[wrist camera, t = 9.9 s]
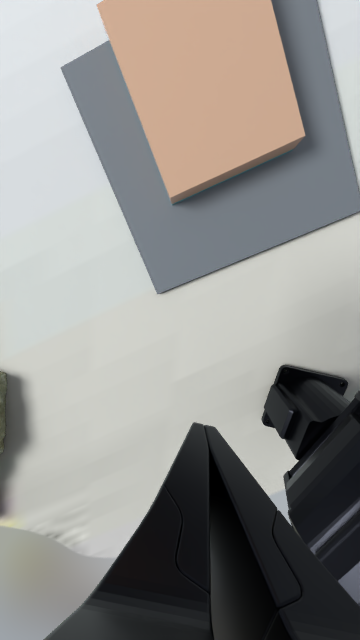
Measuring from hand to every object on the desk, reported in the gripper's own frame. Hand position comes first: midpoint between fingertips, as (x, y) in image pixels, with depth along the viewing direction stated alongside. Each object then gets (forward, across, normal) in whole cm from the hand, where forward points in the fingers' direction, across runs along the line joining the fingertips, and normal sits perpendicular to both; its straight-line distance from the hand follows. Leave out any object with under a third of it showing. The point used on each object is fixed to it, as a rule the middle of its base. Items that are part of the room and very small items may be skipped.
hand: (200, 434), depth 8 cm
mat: (+13, +2, -16) cm, 20 cm away
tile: (+12, 0, -13) cm, 18 cm away
